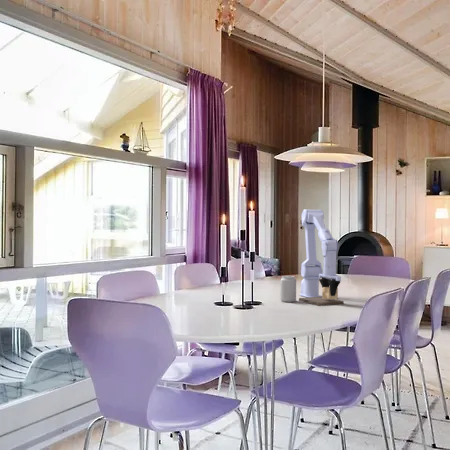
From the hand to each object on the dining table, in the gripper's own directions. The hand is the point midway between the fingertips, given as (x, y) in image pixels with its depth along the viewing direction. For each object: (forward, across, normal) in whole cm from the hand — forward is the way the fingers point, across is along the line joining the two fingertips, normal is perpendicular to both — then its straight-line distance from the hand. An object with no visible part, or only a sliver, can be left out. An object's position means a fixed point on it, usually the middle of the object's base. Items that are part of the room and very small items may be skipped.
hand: (329, 294), depth 231 cm
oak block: (+2, 0, 0) cm, 2 cm away
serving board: (+4, +4, +2) cm, 6 cm away
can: (+4, +12, +15) cm, 20 cm away
